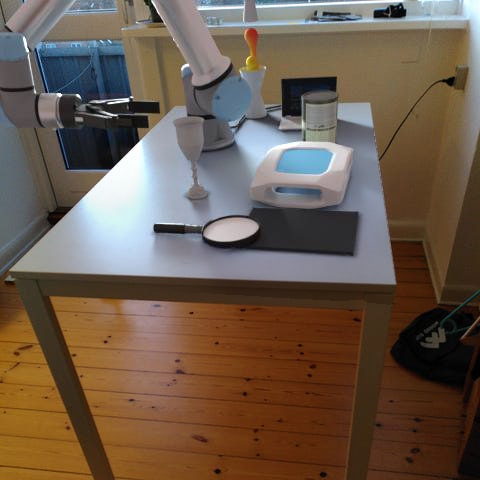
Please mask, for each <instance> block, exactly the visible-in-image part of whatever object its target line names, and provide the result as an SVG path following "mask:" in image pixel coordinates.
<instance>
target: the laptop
mask: <svg viewBox="0 0 480 480" xmlns="http://www.w3.org/2000/svg"><path fill="white" fill-rule="evenodd" d="M337 88H338V76H337V75H327V76H304V77H303V76H301V77H282V78H280V105H281V107H280V108H281V119H280V122H279V126H278V130H279V131H302V99H301V96H302V95H303V94H304V93H307V92H311V91H319V90H327V91H334V92H337V90H338V89H337ZM337 93H338V92H337Z"/></svg>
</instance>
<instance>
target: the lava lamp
mask: <svg viewBox="0 0 480 480" xmlns="http://www.w3.org/2000/svg"><path fill="white" fill-rule="evenodd" d="M243 2H244V3H243V14H242V15H243V16H242V22H243V23H254V22H259V17H258V11H257V6H256V1H255V0H244V1H243ZM244 32H245V33H244V39H245V41H246V43H247V45H248V47H249V50H250V56H248V57H247V58H246V61H245V63H246V66H243V67H240V68H239V73H240V76H241V77H243V78H244V79H245V80H246V81H247V82H248V84H249V86H250V88H251V93H252V98H251V102H250V106H249V108H248V110H247V112H246V113H245V117H244V118H245V119H261V118H265V117H267V115H268V111H267V110H266V108H267V107H266V106H265V103H264V100H263V99H264V98H263V97H262V93H261V91H262V86H263V83H264V80H265V74H266V72H267V67H266V66H265V65H259V62H258V58H257V45H258V39H259V33H258V31H257V29H256V28H253V27H249V28H247V29H246V30H245V31H244Z"/></svg>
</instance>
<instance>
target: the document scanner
mask: <svg viewBox="0 0 480 480" xmlns="http://www.w3.org/2000/svg"><path fill="white" fill-rule="evenodd" d="M353 161H354V148H352V147H351V146H350V147H349V146H345V145H341V144H339V143H336V144H335V143H331V142H302V140H301V141H299V140H298V141H294V142H293V141H292V142H289V143H285V144H280V145H276V146H274V147H272V148H270V149H269V150H267V152H266V154H265V156H264V157H263V158H262V159H261V162H260V163H259V165H258V166H257V167H256V171H255V173H254V177H253V179H252V182H251V184H250V186H249V197H250V199H251V200H252V201H254V202H259V203H262V204H266V205H268V206H272V207H274V208H283V209H308V210H316V209H320V208H325V207H331V206H337V205H340V204H341V203H342V202H343V200H344V197H345V194H346V191H347V188H348V183H349V180H350V176H351V170H352V166H353ZM278 188H299V189H311V190H319V191H320V192H321V193H320V194H319V193H318V194H301V193H298V194H297V193H281V192H278V191H277V189H278Z"/></svg>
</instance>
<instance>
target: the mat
mask: <svg viewBox="0 0 480 480" xmlns="http://www.w3.org/2000/svg"><path fill="white" fill-rule="evenodd" d="M359 214H360V212H359V211H356V210H355V211H354V210H329V209H303V208H284V207H257V206H252V208H251V210H250V212H249V214H248V216H251V217H253V218H255V219H257V220H258V221H259V222H260V226H261V234H260V236H259V237H258V238H257V239H256V240H255V241H253V242H252V243H250V244H248V245H245V246H242V247H238V248H234V249H236V250H238V249H239V250H250V251H251V250H253V251H255V250H256V251H267V252H268V251H269V252H270V251H271V252H287V253H303V254H304V253H305V254H320V255H321V254H322V255H337V256H338V255H339V256H353V257H354V253H355V247H356V239H357V230H358V222H359V217H360V216H359Z"/></svg>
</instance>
